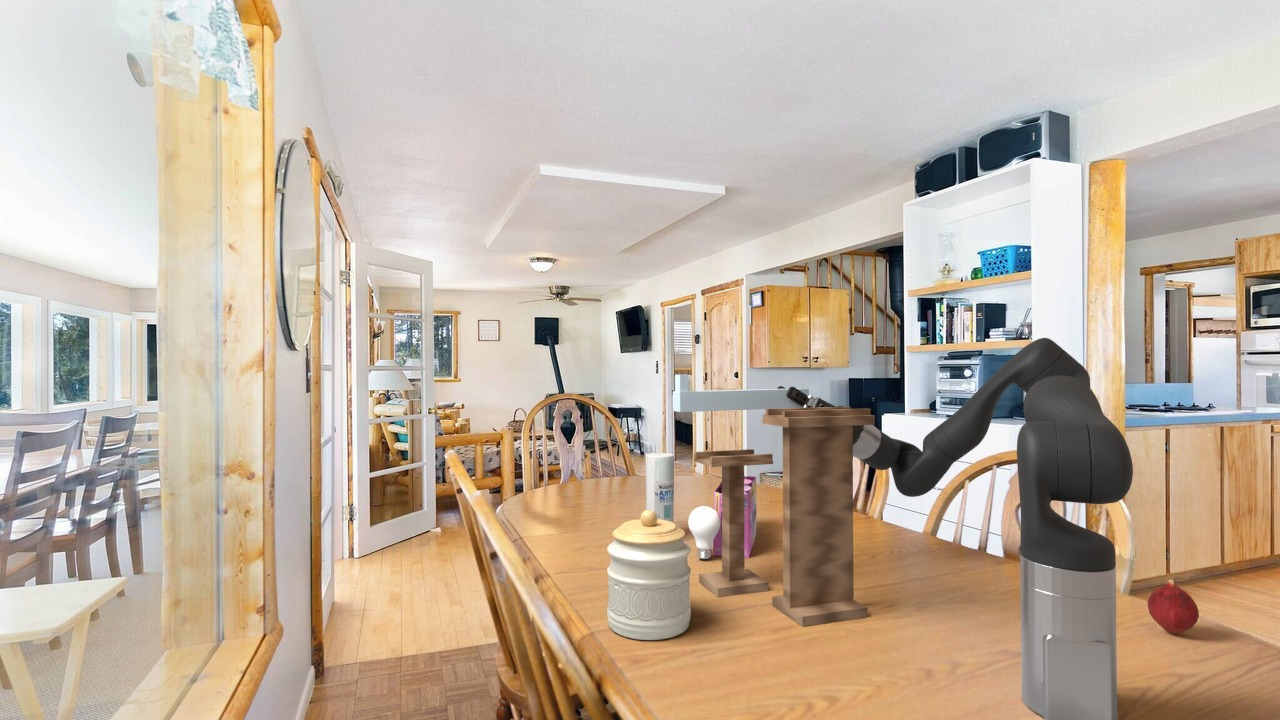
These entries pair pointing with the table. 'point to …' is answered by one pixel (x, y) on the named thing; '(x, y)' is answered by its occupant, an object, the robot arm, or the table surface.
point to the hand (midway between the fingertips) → (783, 390)
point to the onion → (1173, 608)
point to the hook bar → (729, 398)
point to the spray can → (660, 485)
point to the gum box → (749, 516)
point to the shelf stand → (818, 513)
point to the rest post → (733, 523)
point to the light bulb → (704, 529)
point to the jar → (648, 579)
